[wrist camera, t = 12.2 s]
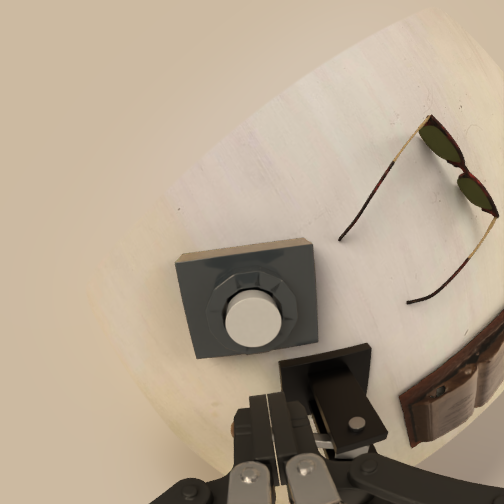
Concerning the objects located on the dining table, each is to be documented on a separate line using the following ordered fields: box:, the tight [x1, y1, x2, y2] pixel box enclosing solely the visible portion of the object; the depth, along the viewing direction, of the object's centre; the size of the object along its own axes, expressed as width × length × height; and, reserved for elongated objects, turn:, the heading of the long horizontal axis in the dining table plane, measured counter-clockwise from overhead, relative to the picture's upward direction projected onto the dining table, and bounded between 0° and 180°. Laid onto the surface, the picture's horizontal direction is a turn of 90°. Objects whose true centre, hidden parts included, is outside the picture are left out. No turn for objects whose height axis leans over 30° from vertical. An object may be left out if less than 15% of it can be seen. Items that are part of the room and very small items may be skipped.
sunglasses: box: [338, 115, 499, 304], centre depth 23 cm, size 14×15×5 cm
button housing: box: [175, 238, 318, 359], centre depth 23 cm, size 11×9×5 cm
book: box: [399, 310, 504, 448], centre depth 30 cm, size 20×28×4 cm
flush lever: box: [231, 421, 369, 459], centre depth 21 cm, size 13×3×3 cm, turn 97°
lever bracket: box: [279, 343, 388, 461], centre depth 23 cm, size 10×8×12 cm
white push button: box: [225, 290, 281, 347], centre depth 20 cm, size 4×4×2 cm
